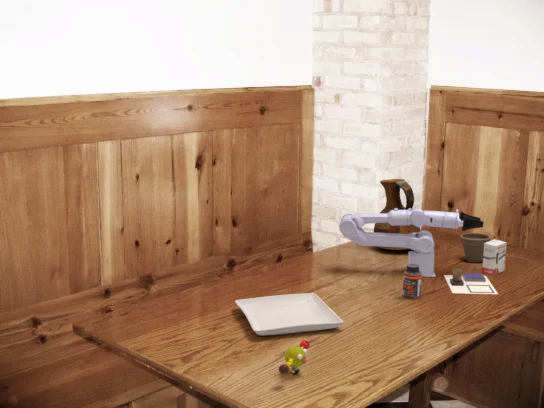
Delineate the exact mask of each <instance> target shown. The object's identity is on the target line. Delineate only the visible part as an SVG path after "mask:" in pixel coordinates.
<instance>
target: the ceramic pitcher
mask: <svg viewBox="0 0 544 408" xmlns="http://www.w3.org/2000/svg"><path fill="white" fill-rule="evenodd" d="M379 183H380V185H381V186H382V187H383V189H384V192H385V198H386V202H385V206H384V207H383V209H382V210H380V212H379V213H385V214H387V213H389V212H390V211H391V210H394V208H398V210H409V208H411V210H412V209H413V207H414V205H415V204H414V203H415V194H414V191H413V188H412V186H411V185H410V184H409V183H408V182H407V181H406V179H404V178H391V179H383V180H380V181H379ZM401 190H402V191H403V194H404V195H405V196H404V197H405V199H406V202H405V206H404V205H403V202H402V199H401ZM421 231H422V230H421V227H417V226H414V225H412V224H411V225H399V226H392V225H390V224H389V223H388V222H385V223H374V227H373V231H372V232H373V233H396V234H410V233H418V232H421ZM376 247H377V248H380V249H385V250H389V251H403V250H404V251H405V250H411V249H410V248H403V247H382V246H376Z"/></svg>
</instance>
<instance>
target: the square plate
mask: <svg viewBox="0 0 544 408" xmlns="http://www.w3.org/2000/svg"><path fill="white" fill-rule="evenodd" d="M234 303H235V304H236V305H237V307H238V308H239V309H240V310H241V313H243V315H245V317H246V319H247V321H248V323H249V324H250V327H251V329H252V330H253V332H254V333H255V334H256V335H258V336H279V335H287V334H288V335H289V334H296V333H307V332H316V331H322V330H331V329H336V328H338V327H340V326H342V325H343V324H344V320H343V319H341V317H339V315H337V313H335V311H334V310H333V309H332V308H330V307H329V305H328V304H326V302H324V300H322V298H320V297H319V295H318V294H316V293H315V292H306V293H305V292H304V293H303V292H302V293H289V294H288V293H287V294H279V295H269V296H268V295H267V296H260V297H257V296H256V297H251V298H244V299H243V298H242V299H236V300H234Z"/></svg>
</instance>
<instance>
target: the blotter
mask: <svg viewBox="0 0 544 408" xmlns="http://www.w3.org/2000/svg"><path fill="white" fill-rule="evenodd" d="M483 276H484V277H485V279H486V282H467V281H465V280H464V278H463V276H462V278H461V279H462V280H463V282H464V286H452V285H451V283H450V279H453V274H443V277H444V279H445V281H446V283H447V285H448V287H449V289H450V291H451V293H452V294H465V295H467V294H469V295H471V294H473V295H499V293H498V291H497V290H496V289H495V287H494V285H493V284H492V283H491V281H490V279H489V278H488V277H487V276H486V275H483Z"/></svg>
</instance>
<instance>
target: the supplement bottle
mask: <svg viewBox="0 0 544 408" xmlns="http://www.w3.org/2000/svg"><path fill="white" fill-rule="evenodd" d="M402 278H403V279H402V282H403V283H402V297H403V298H405V299H408V300H418V299H420V298H421V297H422V296H421V295H422V278H423V276H422V273H421V272H420V271H419V265H417V264H408V263H407V264H406V270H405V271H404V272H403V277H402Z"/></svg>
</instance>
